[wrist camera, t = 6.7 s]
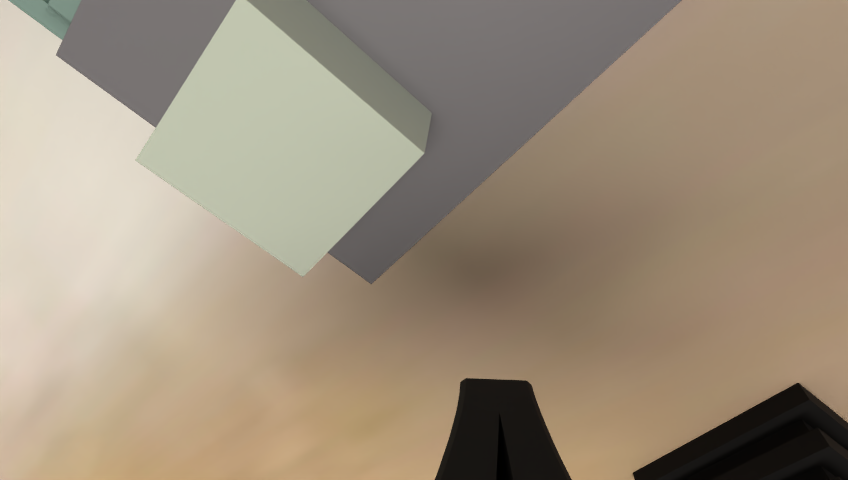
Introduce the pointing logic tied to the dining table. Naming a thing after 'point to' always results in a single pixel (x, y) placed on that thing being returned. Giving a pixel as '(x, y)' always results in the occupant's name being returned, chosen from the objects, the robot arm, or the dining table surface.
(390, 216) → the charcoal board
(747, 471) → the chess piece
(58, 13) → the tray
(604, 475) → the dining table surface
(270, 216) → the sage tile
